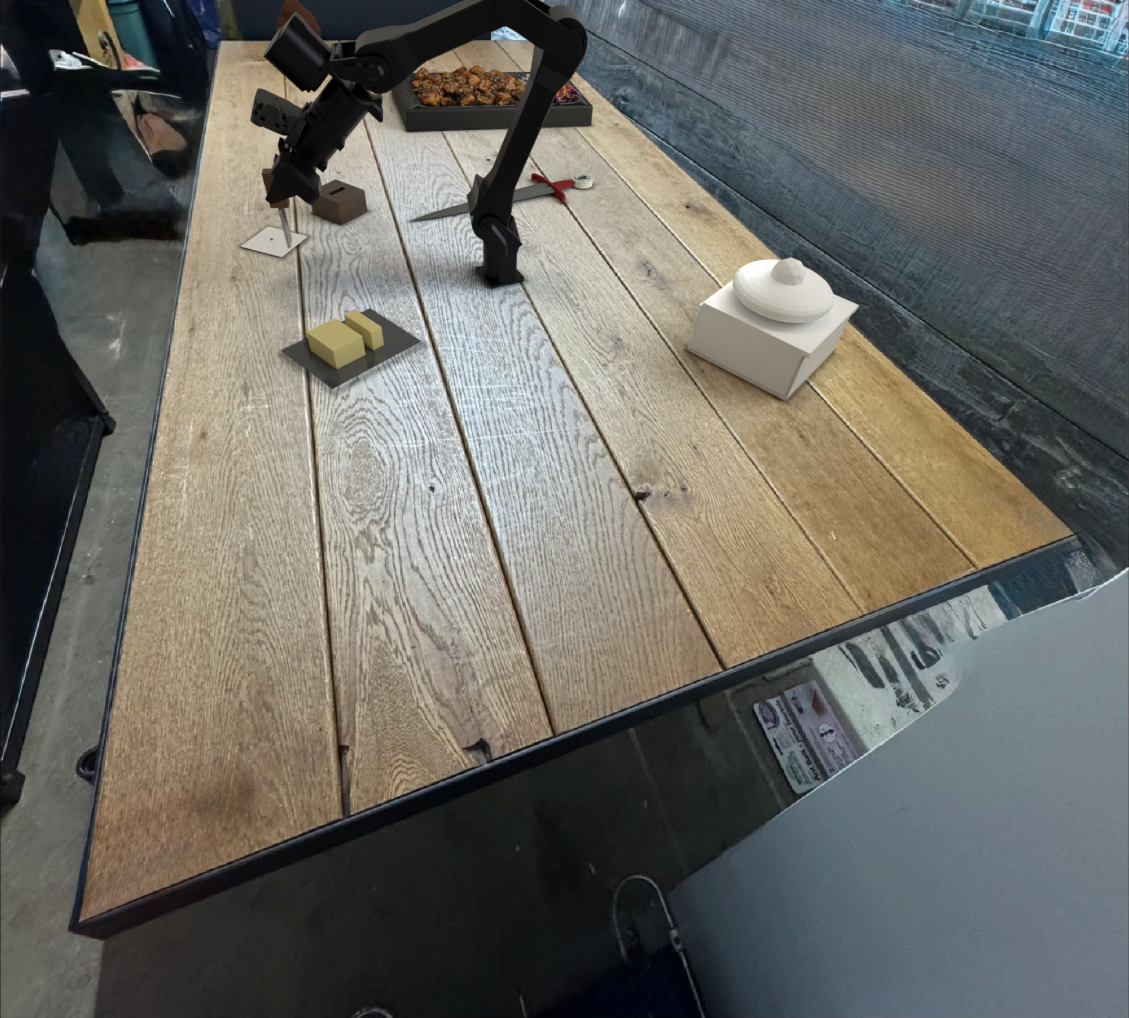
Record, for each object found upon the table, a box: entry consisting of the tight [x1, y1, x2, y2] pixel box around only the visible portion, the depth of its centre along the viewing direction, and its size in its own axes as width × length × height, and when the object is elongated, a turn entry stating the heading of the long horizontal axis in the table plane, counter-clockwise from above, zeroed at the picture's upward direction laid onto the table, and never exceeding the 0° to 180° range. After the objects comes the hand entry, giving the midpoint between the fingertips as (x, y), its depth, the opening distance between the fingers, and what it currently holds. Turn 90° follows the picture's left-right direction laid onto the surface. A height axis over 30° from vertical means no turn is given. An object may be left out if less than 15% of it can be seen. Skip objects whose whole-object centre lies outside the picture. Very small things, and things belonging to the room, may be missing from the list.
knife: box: [261, 167, 292, 248], centre depth 98 cm, size 3×3×11 cm
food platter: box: [390, 64, 594, 133], centre depth 159 cm, size 45×25×10 cm, turn 108°
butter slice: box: [343, 309, 384, 350], centre depth 96 cm, size 2×6×3 cm, turn 50°
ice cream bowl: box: [274, 0, 322, 39], centre depth 163 cm, size 11×11×15 cm
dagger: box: [410, 172, 594, 222], centre depth 132 cm, size 12×41×2 cm, turn 113°
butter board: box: [280, 307, 422, 390], centre depth 96 cm, size 16×12×1 cm
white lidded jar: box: [686, 257, 860, 402], centre depth 98 cm, size 18×18×16 cm
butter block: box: [305, 318, 365, 369], centre depth 93 cm, size 5×6×3 cm
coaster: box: [240, 226, 309, 258], centre depth 113 cm, size 8×8×1 cm
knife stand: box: [311, 179, 368, 226], centre depth 121 cm, size 7×7×4 cm
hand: (269, 198), depth 97 cm, fingers closed on knife, 2 cm apart
